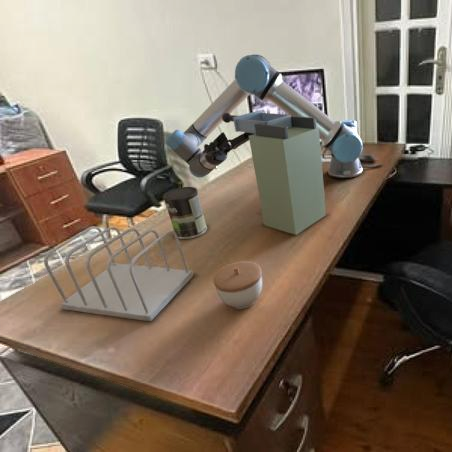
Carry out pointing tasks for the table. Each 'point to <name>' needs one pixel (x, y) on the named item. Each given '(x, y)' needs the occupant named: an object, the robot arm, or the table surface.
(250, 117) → the grey drawer
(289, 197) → the stand
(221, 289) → the trinket box
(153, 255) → the table surface
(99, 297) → the file sorter
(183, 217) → the coffee can
